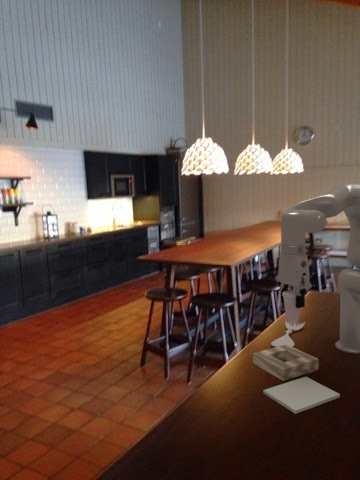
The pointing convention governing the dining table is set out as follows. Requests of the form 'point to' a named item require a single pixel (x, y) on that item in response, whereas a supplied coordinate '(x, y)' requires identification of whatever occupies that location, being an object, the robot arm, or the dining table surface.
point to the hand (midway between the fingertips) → (292, 304)
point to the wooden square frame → (294, 367)
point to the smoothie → (291, 306)
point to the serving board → (301, 394)
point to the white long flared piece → (287, 335)
